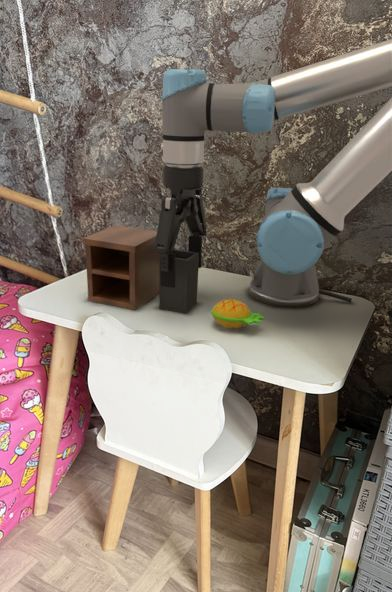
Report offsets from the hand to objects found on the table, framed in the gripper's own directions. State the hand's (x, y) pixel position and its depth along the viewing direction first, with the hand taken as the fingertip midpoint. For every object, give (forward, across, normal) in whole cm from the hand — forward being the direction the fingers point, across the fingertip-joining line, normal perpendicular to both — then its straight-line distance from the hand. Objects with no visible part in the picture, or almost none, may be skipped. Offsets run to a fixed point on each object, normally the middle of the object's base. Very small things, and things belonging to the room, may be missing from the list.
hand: (182, 276), depth 105 cm
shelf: (+6, 0, -13) cm, 14 cm away
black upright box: (+6, 0, -1) cm, 7 cm away
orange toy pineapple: (+7, +5, +13) cm, 16 cm away
